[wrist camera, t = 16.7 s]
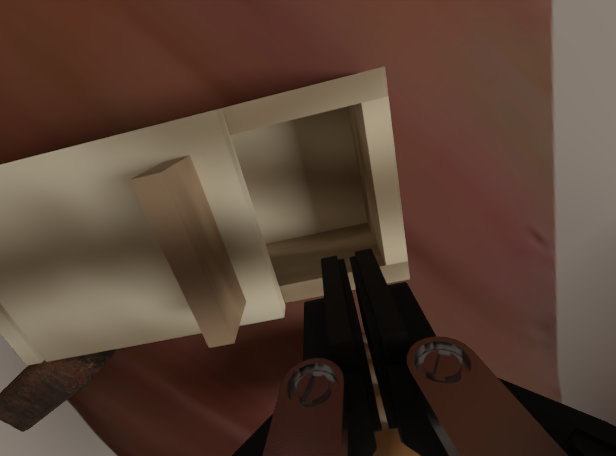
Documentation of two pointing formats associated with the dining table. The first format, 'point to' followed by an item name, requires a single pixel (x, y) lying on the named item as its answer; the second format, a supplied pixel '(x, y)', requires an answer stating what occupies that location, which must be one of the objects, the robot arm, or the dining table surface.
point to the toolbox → (322, 178)
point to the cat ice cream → (385, 422)
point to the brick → (47, 387)
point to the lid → (131, 243)
